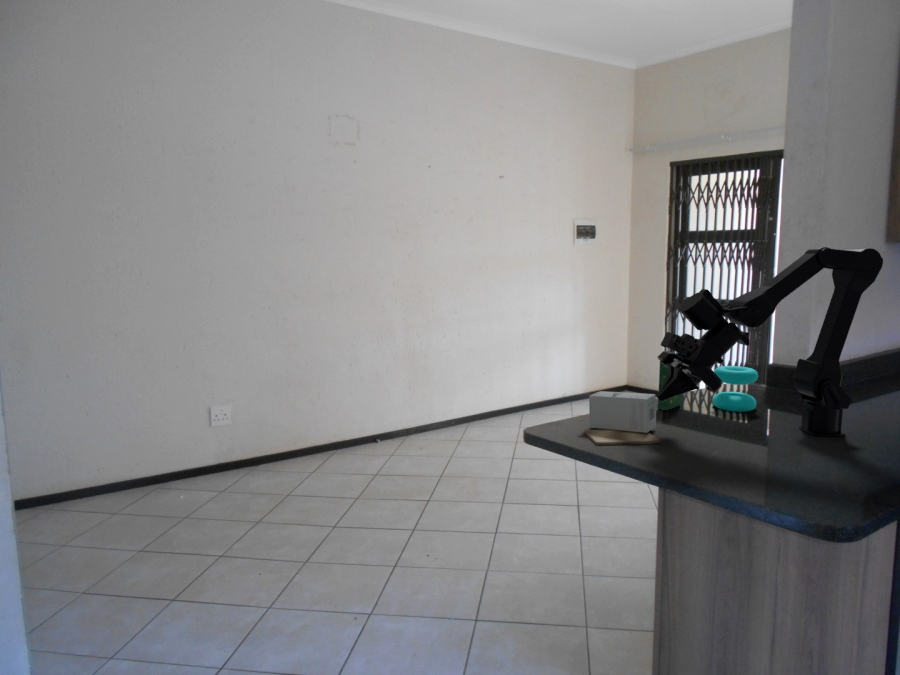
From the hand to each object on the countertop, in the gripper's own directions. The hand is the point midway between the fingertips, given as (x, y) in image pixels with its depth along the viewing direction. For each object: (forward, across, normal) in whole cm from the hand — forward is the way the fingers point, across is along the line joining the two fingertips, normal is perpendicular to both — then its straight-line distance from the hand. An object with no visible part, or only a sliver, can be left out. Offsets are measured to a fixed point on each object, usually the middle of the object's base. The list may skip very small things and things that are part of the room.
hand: (658, 399), depth 126 cm
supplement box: (+3, -2, +2) cm, 4 cm away
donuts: (-14, -23, +26) cm, 38 cm away
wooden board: (+11, 0, 0) cm, 11 cm away
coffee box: (-3, -24, +15) cm, 29 cm away
